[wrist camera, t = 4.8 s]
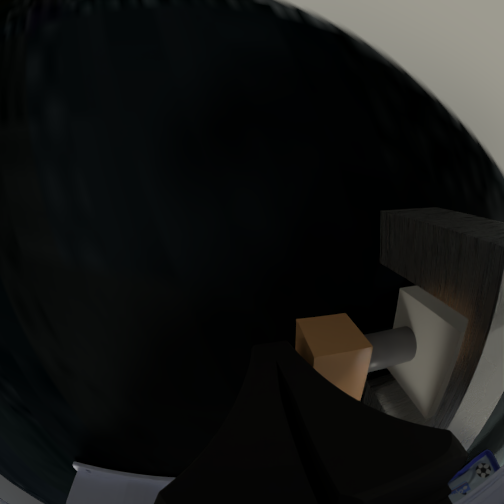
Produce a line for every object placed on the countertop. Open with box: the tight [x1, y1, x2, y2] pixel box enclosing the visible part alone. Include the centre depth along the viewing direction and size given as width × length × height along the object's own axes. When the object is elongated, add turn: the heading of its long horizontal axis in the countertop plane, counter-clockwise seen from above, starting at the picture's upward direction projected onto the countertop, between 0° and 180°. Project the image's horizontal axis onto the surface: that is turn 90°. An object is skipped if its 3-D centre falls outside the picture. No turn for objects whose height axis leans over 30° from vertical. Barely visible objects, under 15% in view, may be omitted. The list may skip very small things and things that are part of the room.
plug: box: [295, 285, 468, 419], centre depth 9 cm, size 8×4×4 cm, turn 93°
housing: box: [362, 207, 504, 451], centre depth 9 cm, size 6×17×6 cm, turn 6°
